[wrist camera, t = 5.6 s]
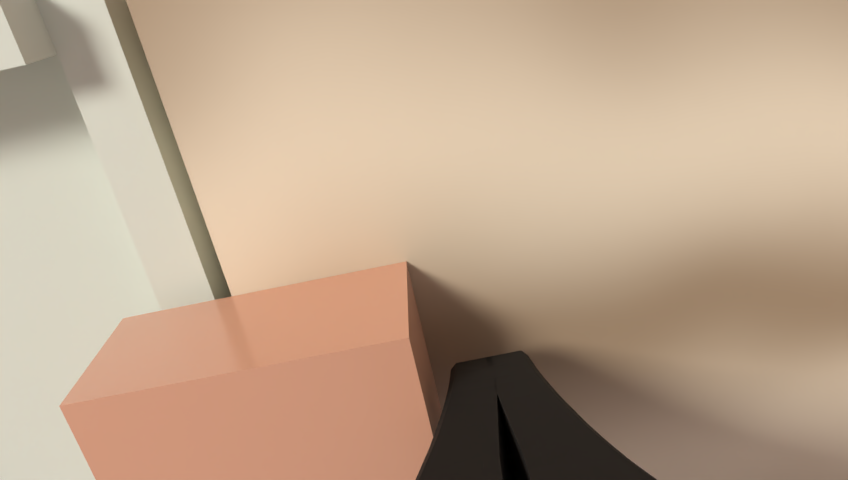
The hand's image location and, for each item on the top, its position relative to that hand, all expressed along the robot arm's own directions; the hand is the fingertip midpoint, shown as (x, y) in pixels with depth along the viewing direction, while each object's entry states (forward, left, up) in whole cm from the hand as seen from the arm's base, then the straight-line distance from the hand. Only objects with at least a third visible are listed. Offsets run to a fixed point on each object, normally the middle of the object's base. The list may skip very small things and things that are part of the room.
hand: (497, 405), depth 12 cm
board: (0, -2, -3) cm, 3 cm away
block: (0, +4, -1) cm, 4 cm away
